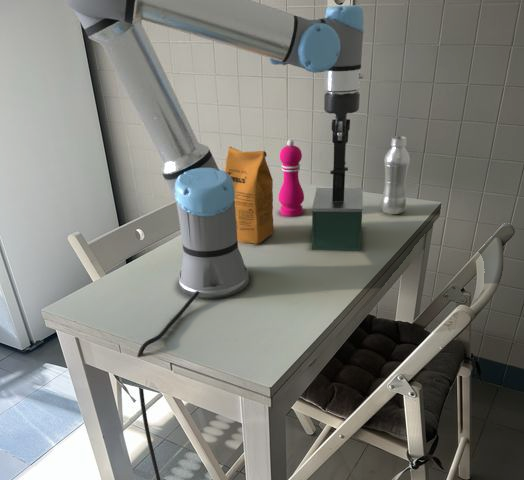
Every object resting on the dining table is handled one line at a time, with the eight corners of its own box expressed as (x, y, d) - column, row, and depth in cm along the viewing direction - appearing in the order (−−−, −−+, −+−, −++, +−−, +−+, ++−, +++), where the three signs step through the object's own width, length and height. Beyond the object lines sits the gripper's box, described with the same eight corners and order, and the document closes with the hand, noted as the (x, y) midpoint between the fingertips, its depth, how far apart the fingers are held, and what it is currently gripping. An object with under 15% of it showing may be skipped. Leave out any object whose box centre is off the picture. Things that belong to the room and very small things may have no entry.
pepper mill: (300, 218, 148) (299, 143, 137) (275, 216, 150) (273, 142, 139) (306, 209, 154) (307, 136, 142) (283, 207, 156) (281, 136, 145)
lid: (362, 212, 122) (362, 208, 121) (312, 211, 124) (312, 208, 123) (362, 191, 134) (362, 188, 134) (316, 190, 136) (316, 187, 136)
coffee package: (242, 225, 145) (237, 141, 133) (279, 234, 139) (277, 147, 126) (218, 237, 139) (210, 150, 126) (256, 247, 132) (251, 156, 120)
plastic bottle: (406, 216, 146) (415, 140, 134) (382, 217, 146) (388, 141, 135) (402, 208, 151) (410, 134, 140) (378, 209, 151) (384, 135, 140)
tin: (359, 250, 128) (362, 211, 123) (311, 249, 130) (312, 210, 124) (360, 228, 140) (362, 191, 134) (316, 227, 142) (316, 191, 136)
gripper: (359, 96, 107) (353, 209, 120) (360, 86, 118) (354, 191, 131) (322, 97, 108) (320, 209, 122) (326, 87, 119) (324, 191, 132)
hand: (338, 200), depth 126 cm, fingers closed
